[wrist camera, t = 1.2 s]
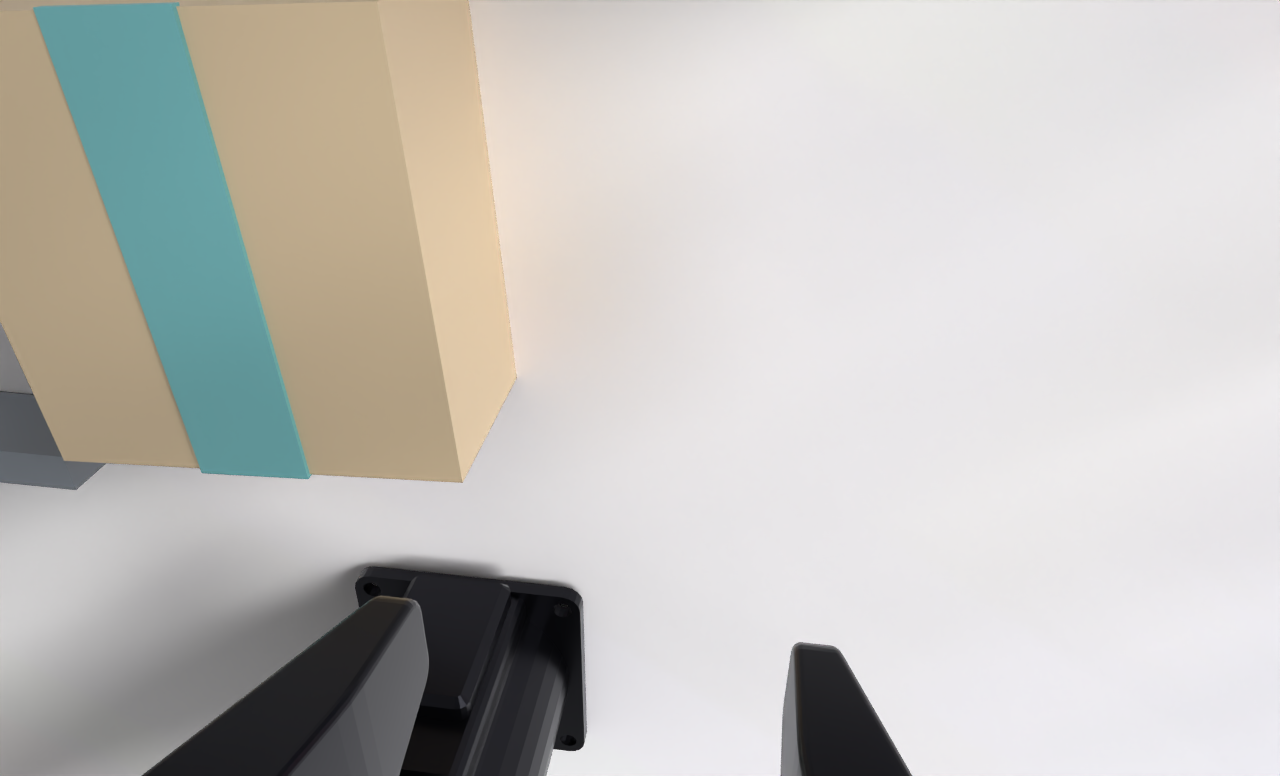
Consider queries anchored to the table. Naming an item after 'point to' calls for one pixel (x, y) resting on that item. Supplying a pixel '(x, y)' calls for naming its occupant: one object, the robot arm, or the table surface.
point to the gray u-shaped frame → (34, 448)
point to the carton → (252, 234)
